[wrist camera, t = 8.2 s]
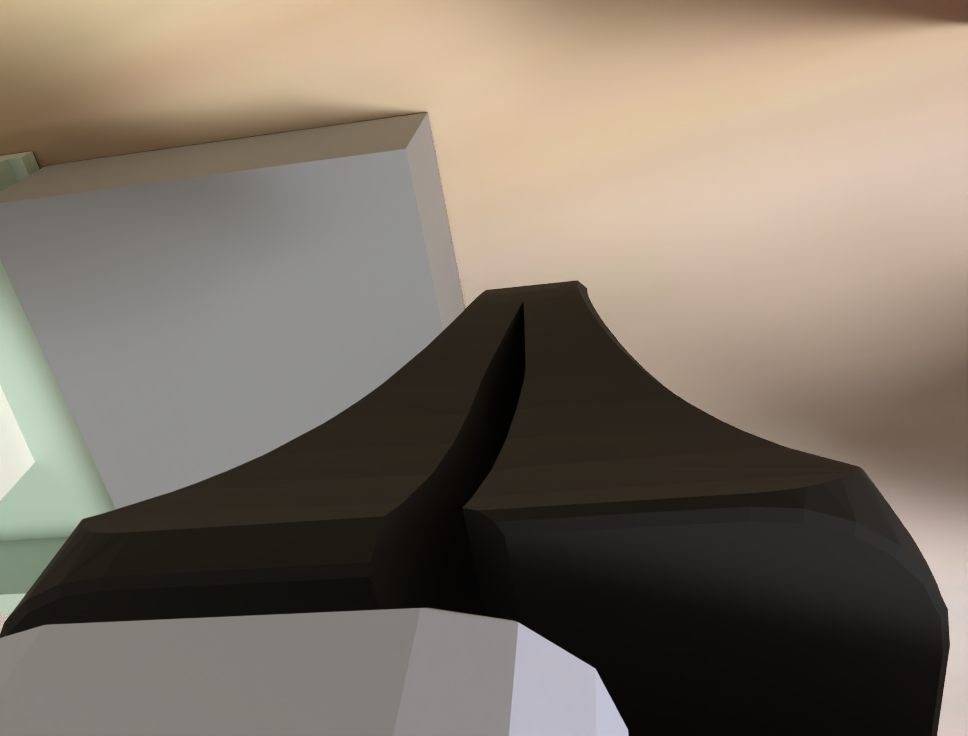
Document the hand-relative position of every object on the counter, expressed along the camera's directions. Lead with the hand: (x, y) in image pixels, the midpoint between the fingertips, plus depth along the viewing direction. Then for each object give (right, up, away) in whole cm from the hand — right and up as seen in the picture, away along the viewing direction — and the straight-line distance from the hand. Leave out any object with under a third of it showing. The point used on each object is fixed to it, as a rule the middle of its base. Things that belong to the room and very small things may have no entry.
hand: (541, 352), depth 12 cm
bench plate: (-6, 0, +13) cm, 14 cm away
